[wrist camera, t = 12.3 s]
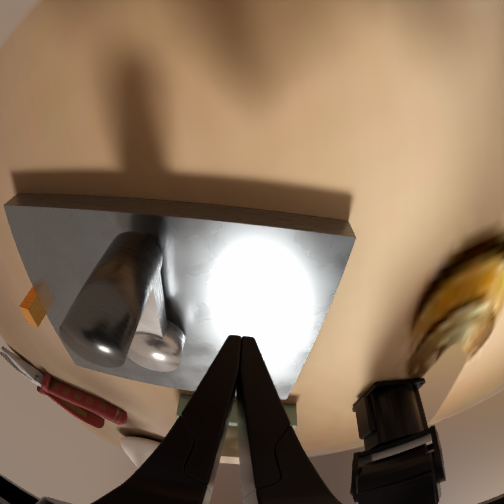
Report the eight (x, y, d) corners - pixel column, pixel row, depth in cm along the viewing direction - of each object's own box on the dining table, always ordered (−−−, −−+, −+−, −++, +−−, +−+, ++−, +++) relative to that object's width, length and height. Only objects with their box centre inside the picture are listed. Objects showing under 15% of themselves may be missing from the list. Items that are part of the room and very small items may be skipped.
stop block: (253, 418, 29) (251, 458, 25) (249, 429, 31) (247, 464, 27) (217, 415, 29) (213, 455, 25) (217, 426, 31) (213, 461, 27)
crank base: (348, 221, 14) (364, 257, 12) (286, 385, 24) (286, 414, 22) (8, 193, 13) (-20, 217, 11) (73, 350, 23) (62, 374, 21)
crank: (186, 353, 19) (170, 435, 14) (137, 344, 18) (113, 421, 13) (176, 224, 13) (129, 334, 8) (106, 218, 12) (38, 311, 8)
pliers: (7, 331, 25) (-2, 346, 22) (132, 411, 33) (128, 427, 31) (2, 353, 29) (-4, 365, 27) (103, 418, 38) (99, 430, 36)
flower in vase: (183, 454, 45) (170, 560, 25) (128, 441, 44) (110, 544, 24) (180, 438, 38) (163, 572, 17) (113, 422, 37) (87, 549, 17)
